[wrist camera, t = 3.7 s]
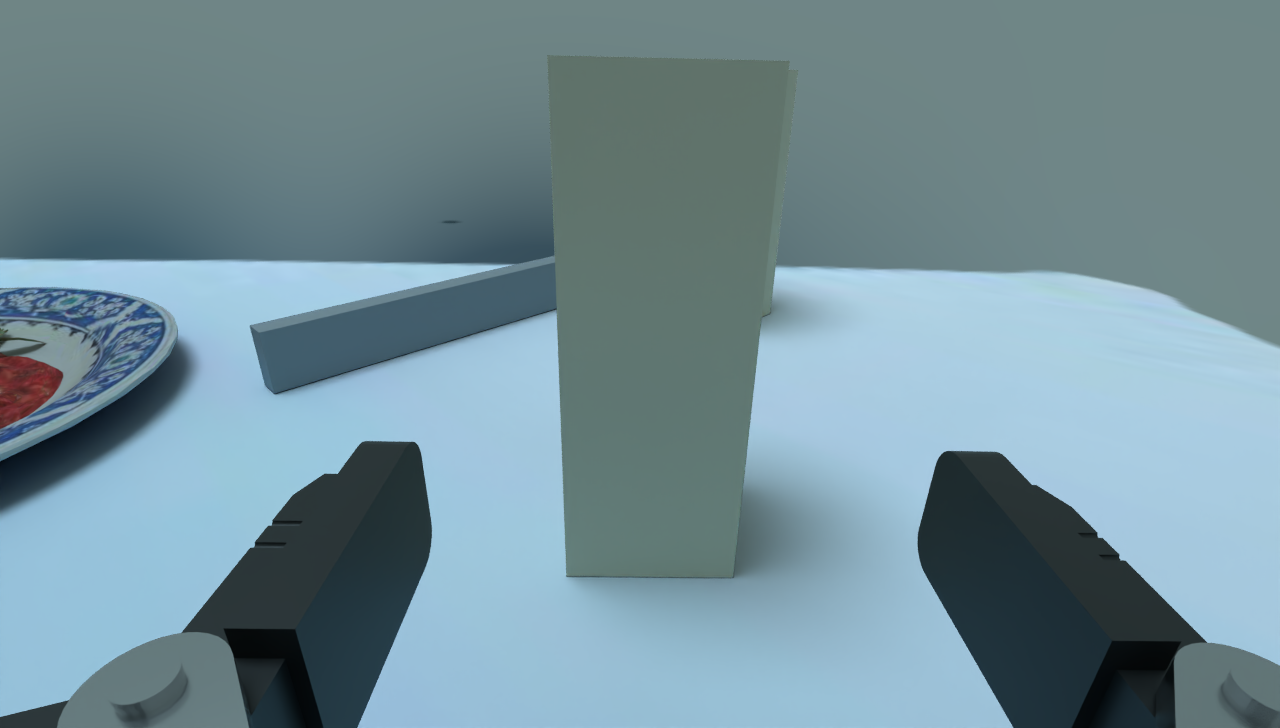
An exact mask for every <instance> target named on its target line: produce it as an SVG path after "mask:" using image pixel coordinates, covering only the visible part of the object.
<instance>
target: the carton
mask: <svg viewBox="0 0 1280 728" xmlns="http://www.w3.org/2000/svg"><path fill="white" fill-rule="evenodd" d="M788 70H789V61H763V60H722V59H721V60H720V59H678V58H637V57H635V58H634V57H594V56H553V55H548V84H549V109H550V110H549V111H550V139H551V166H552V191H553V219H554V220H553V221H554V248H555V275H556V303H557V330H558V357H559V385H560V412H561V439H562V466H563V494H564V521H565V548H566V576H598V577H702V578H733V575H734V565H735V556H736V547H737V538H738V529H739V519H740V510H741V501H742V492H743V483H744V474H745V464H746V455H747V446H748V437H749V428H750V419H751V409H752V400H753V391H754V382H755V373H756V364H757V354H758V345H759V336H760V327H761V318H762V309H763V299H764V290H765V281H766V272H767V263H768V254H769V244H770V235H771V226H772V217H773V208H774V199H775V189H776V180H777V171H778V162H779V153H780V143H781V134H782V125H783V116H784V107H785V98H786V88H787V79H788Z"/></svg>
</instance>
